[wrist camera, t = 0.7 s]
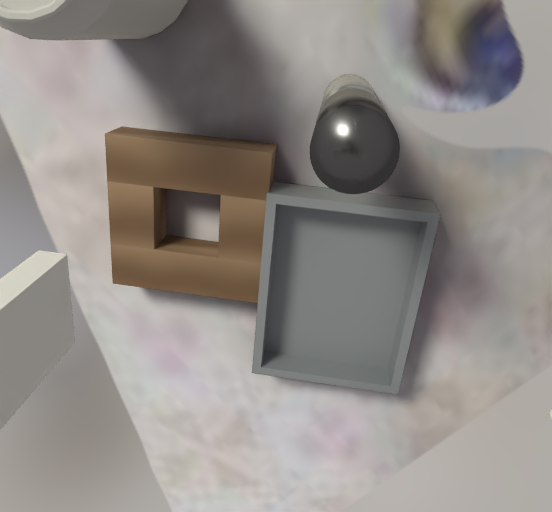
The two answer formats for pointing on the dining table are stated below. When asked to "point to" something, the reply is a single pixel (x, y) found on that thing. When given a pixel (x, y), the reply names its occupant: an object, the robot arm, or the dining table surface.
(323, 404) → the dining table surface
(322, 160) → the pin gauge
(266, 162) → the plate
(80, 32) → the can
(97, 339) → the dining table surface
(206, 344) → the dining table surface
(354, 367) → the tray
